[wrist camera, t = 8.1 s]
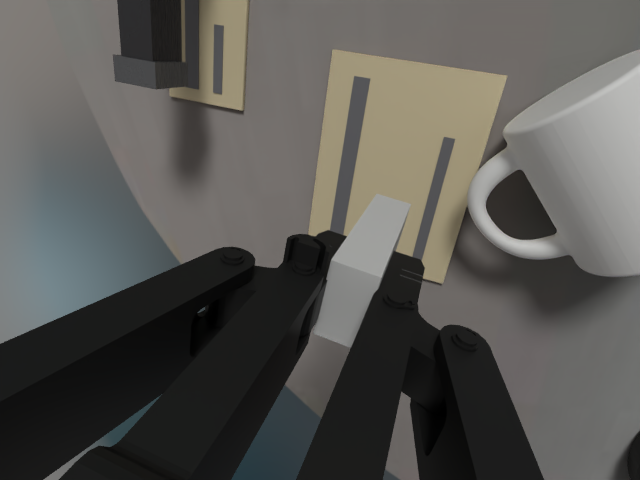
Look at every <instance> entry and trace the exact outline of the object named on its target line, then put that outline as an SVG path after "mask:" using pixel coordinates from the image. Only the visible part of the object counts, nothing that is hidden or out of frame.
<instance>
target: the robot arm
mask: <svg viewBox="0 0 640 480" xmlns="http://www.w3.org/2000/svg"><path fill="white" fill-rule="evenodd" d="M410 206H411V204H409V203H406V202H403V201H399V200H396V199H393V198H390V197H386V196H383V195H380V194H376V196H375V197H374V198H373V200H372V201H371V203H370V204H369V206H368V207H367V209H366V210H365V211H364V213H363V214H362V216H361V217H360V219H359V220H358V222H357V223H356V224H355V226H354V227H353V229H352V230H351V232H350V233H349V235H348V236H345V235H342V234H339V233H336V232H333V231H330V230H327V231H324V232H321V233H318V234H317V236H311V235H307V234H297V235H292V236H290V237H288V238H287V243H286V248H285V254H284V259H283V262H282V264H281V265H280V266H279V267H278V268H267V267H260V266H254V265H255V258H254V256H253V255H252V254H251V253H250V252H248V251H246V250H244V249H241V248H236V247H223V248H219V249H216V250H214V251H211V252H209V253H207V254H204V255H202V256H200V257H198V258H195V259H193V260H191V261H188V262H186V263H184V264H182V265H179V266H177V267H175V268H172V269H170V270H168V271H166V272H163V273H161V274H159V275H156V276H154V277H152V278H150V279H147V280H145V281H143V282H141V283H138V284H136V285H134V286H131V287H129V288H127V289H125V290H122V291H120V292H118V293H115V294H113V295H111V296H109V297H106V298H104V299H102V300H100V301H97V302H95V303H93V304H90V305H88V306H86V307H84V308H81V309H79V310H77V311H74V312H72V313H70V314H68V315H65V316H63V317H61V318H58V319H56V320H54V321H52V322H49V323H47V324H45V325H42V326H40V327H38V328H36V329H33V330H31V331H29V332H27V333H24V334H22V335H20V336H17V337H15V338H13V339H10V340H8V341H6V342H4V343H1V344H0V480H43V479H45V478H46V477H47V476H49V475H50V474H52V473H53V472H54V471H56V470H57V469H59V468H60V467H61V466H62V465H64V464H66V463H67V462H68V461H70V460H71V459H72V458H74V457H75V456H77V455H78V454H79V453H81V452H82V451H84V450H85V449H86V448H88V447H89V446H91V445H92V444H93V443H95V442H96V441H97V440H99V439H100V438H102V437H103V436H104V435H106V434H107V433H109V432H110V431H111V430H113V429H114V428H115V427H117V426H118V425H120V424H121V423H122V422H124V421H125V420H127V419H128V418H129V417H131V416H132V415H133V414H135V413H136V412H138V411H139V410H141V409H142V408H143V407H145V406H146V405H147V404H149V403H150V402H151V401H153V400H154V399H156V398H157V397H159V396H160V395H161V394H162V395H161V396H160V397H159V399H158V400H157V401H156V402H155V403H154V404H153V405H152V406H151V407H150V408H149V410H148V411H147V412H146V413H145V414H144V415H143V416H142V417H141V418H140V419H139V421H138V422H137V423H136V424H135V425H134V426H133V427H132V428H131V429H130V430H129V431H128V433H127V434H126V435H125V436H124V437H123V438H122V439H121V440H120V441H119V442H118V443H117V444H115V445H114V446H112V447H104V446H98V447H96V448H94V449H92V450H90V451H88V452H87V453H86V454H85V455H83V456H82V457H81V458H80V459H79V460H78V461H77V462H75V463H74V465H73V466H72V467H71V468H70V469H69V470H68V471H67V472H66V473H65V474H64V475H63V476H62V477H61V478H60V479H59V480H231V479H232V477H233V475H234V473H235V471H236V470H237V468H238V466H239V464H240V463H241V461H242V459H243V457H244V456H245V454H246V452H247V450H248V448H249V447H250V445H251V443H252V441H253V440H254V438H255V436H256V434H257V432H258V431H259V429H260V427H261V425H262V424H263V422H264V420H265V418H266V417H267V415H268V413H269V411H270V410H271V408H272V406H273V404H274V402H275V401H276V399H277V397H278V395H279V394H280V391H281V390H282V388H283V386H284V385H285V383H286V381H287V379H288V378H289V376H290V374H291V372H292V371H293V369H294V367H295V365H296V363H297V362H298V360H299V358H300V356H301V355H302V353H303V351H304V349H305V347H306V346H307V344H308V340H309V336H310V332H311V330H312V328H313V326H314V325H315V328H314V332H313V334H316V335H319V336H321V337H324V338H326V339H329V340H331V341H334V342H337V343H339V344H342V345H344V346H347V347H349V348H351V349H350V352H349V354H348V356H347V359H346V361H345V364H344V366H343V368H342V371H341V373H340V376H339V378H338V380H337V383H336V385H335V388H334V390H333V392H332V395H331V397H330V400H329V402H328V404H327V407H326V409H325V412H324V414H323V416H322V419H321V421H320V424H319V426H318V428H317V431H316V433H315V436H314V438H313V440H312V443H311V445H310V448H309V450H308V452H307V455H306V457H305V460H304V462H303V465H302V467H301V469H300V472H299V474H298V476H297V479H296V480H383V475H384V471H385V466H386V461H387V457H388V452H389V447H390V442H391V438H392V433H393V428H394V423H395V419H396V414H397V409H398V404H399V400H400V395H401V391H402V392H403V393H405V394H406V395H407V396H409V397H410V398H411V402H410V409H411V417H412V424H413V432H414V440H415V448H416V455H417V463H418V471H419V479H420V480H544V478H543V476H542V474H541V471H540V469H539V466H538V464H537V461H536V459H535V456H534V454H533V451H532V449H531V447H530V444H529V442H528V439H527V437H526V434H525V432H524V429H523V427H522V425H521V422H520V420H519V417H518V415H517V412H516V410H515V407H514V405H513V402H512V400H511V398H510V395H509V393H508V390H507V388H506V385H505V383H504V380H503V378H502V376H501V373H500V371H499V368H498V366H497V363H496V361H495V358H494V356H493V354H492V351H491V349H490V346H489V345H488V343H487V342H486V340H485V339H484V338H482V337H481V336H480V335H479V334H478V333H476V332H475V331H472V330H471V329H469V328H466V327H463V326H460V325H447V326H444V327H443V328H442V329H441V330H438V329H437V328H435V327H433V326H432V325H430V324H429V323H427V322H426V321H425V320H424V319H423V318H422V317H421V315H420V314H419V312H418V304H417V302H418V298H419V293H420V289H421V284H422V279H423V275H424V270H425V267H424V265H423V263H422V261H421V260H420V259H417V258H414V257H411V256H408V255H405V254H402V253H399V252H396V249H397V246H398V243H399V240H400V237H401V234H402V231H403V228H404V225H405V222H406V218H407V215H408V212H409V209H410ZM203 307H205V310H204V311H202V312H200V313H197V312H198V311H200V309H202V308H203ZM315 323H316V324H315ZM628 472H629V476H630V479H631V480H640V434H639V435H638V437H637V438H636V439H635V441H634V443H633V445H632V447H631V449H630V452H629V456H628Z"/></svg>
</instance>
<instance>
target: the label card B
mask: <svg viewBox="0 0 640 480" xmlns="http://www.w3.org/2000/svg"><path fill="white" fill-rule="evenodd" d="M506 79H507V76H505V75H498V74H492V73H485V72H479V71H472V70H465V69H459V68H452V67H446V66H439V65H432V64H426V63H419V62H413V61H406V60H399V59H393V58H386V57H380V56H373V55H366V54H360V53H353V52H347V51H340V50H333V51H332V59H331V66H330V74H329V81H328V89H327V96H326V104H325V112H324V119H323V127H322V134H321V142H320V149H319V157H318V165H317V172H316V180H315V187H314V195H313V202H312V210H311V217H310V225H309V233H308V235H311V236H317V234H318V233H321V232H324V231H327V230H330V231H333V232H336V233H339V234H342V235H345V236H348V235H349V233H350V232H351V230H352V229H353V227H354V226H355V224H356V223H357V222H358V220H359V219H360V217H361V216H362V214H363V213H364V211H365V210H366V209H367V207H368V206H369V204H370V203H371V201H372V200H373V198H374V197H375V196H376V194H380V195H383V196H386V197H390V198H393V199H396V200H399V201H403V202H406V203H409V204H411V206H410V209H409V212H408V215H407V218H406V222H405V225H404V228H403V231H402V234H401V237H400V240H399V243H398V246H397V249H396V252H399V253H402V254H405V255H408V256H411V257H414V258H417V259H420V260H421V261H422V263H423V265H424V267H425V270H424V275H423V279H427V280H431V281H434V282H438V283H441V284H443V281H444V278H445V275H446V272H447V268H448V265H449V262H450V259H451V255H452V252H453V249H454V246H455V243H456V239H457V236H458V233H459V230H460V227H461V223H462V220H463V217H464V214H465V211H466V207H467V194H468V189H469V185H470V183H471V181H472V179H473V177H474V176H475V174H476V173H477V172H478V169H479V166H480V162H481V159H482V156H483V153H484V150H485V146H486V143H487V140H488V137H489V134H490V130H491V127H492V124H493V121H494V118H495V114H496V111H497V108H498V105H499V101H500V98H501V95H502V92H503V89H504V85H505V82H506Z"/></svg>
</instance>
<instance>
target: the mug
mask: <svg viewBox="0 0 640 480" xmlns="http://www.w3.org/2000/svg"><path fill="white" fill-rule="evenodd" d="M503 137H504V139H505V140H506V142H507V147H506V148H505V149H504V150H502V151H501V152H499V153H498V154H496V155H495V156H494V157H492V158H491V159H490V160H489V161H487V162H486V163H485V164H484V165H483V166H482V167H481V168H480V169H479V170H478V172H477V173H476V174H475V176H474V177H473V179H472V181H471V183H470V185H469V189H468V194H467V204H468V209H469V212H470V215H471V218H472V220H473V222H474V223H475V225H476V227H477V228H478V229H479V231H480V232H481V233H482V234H483V235H484V236H485V237H486V238H487V239H488V240H489V241H490V242H491V243H492V244H494V245H495V246H496V247H498V248H500V249H501V250H503V251H505V252H507V253H509V254H511V255H514V256H517V257H521V258H525V259H534V260H544V259H552V258H558V257H562V256H566V255H570V256H572V257H573V259H574V261H575V263H576V264H577V265H578V266H579V267H580V268H581V269H583V270H584V271H586V272H588V273H591V274H594V275H599V276H606V277H629V276H638V275H640V50H636V51H634V52H631V53H628V54H626V55H623V56H621V57H618V58H616V59H614V60H612V61H609V62H607V63H605V64H603V65H601V66H599V67H597V68H595V69H593V70H591V71H589V72H587V73H585V74H583V75H581V76H580V77H578V78H576V79H574V80H572V81H570V82H569V83H567V84H565V85H563V86H562V87H560V88H558V89H556V90H555V91H553V92H551V93H550V94H548V95H547V96H545V97H543V98H542V99H540V100H539V101H537V102H536V103H534V104H533V105H531V106H530V107H528V108H527V109H525V110H524V111H523V112H521V113H520V114H519V115H517V116H516V117H515V118H514V119H512V120H511V121H510V122H509V123H508V124H507V125H506V127H505V128H504V130H503ZM516 170H522V171H523V172H524V174H525V175H526V177H527V179H528V181H529V182H530V184H531V186H532V188H533V189H534V191H535V193H536V194H537V196H538V198H539V200H540V201H541V203H542V205H543V207H544V208H545V210H546V212H547V214H548V215H549V217H550V219H551V221H552V222H553V224H554V226H555V228H556V229H557V232H556V233H555V234H554V235H551V236H547V237H543V238H539V239H533V240H519V239H515V238H512V237H510V236H508V235H506V234H505V233H503V232H502V231H501V230H500V229H499V228H498V227H497V226H496V225H495V224H494V222H493V221H492V220H491V218H490V217H489V215H488V213H487V210H486V200H487V198H488V196H489V194H490V193H491V191H492V190H493V189H494V188H495V187H496V185H498V184H499V183H500V182H501V181H502V180H503V179H505V178H506V177H507V176H509V175H510V174H512V173H513V172H515V171H516Z"/></svg>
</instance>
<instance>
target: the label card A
mask: <svg viewBox="0 0 640 480" xmlns="http://www.w3.org/2000/svg"><path fill="white" fill-rule="evenodd" d="M248 18H249V0H181V25H182V61H183V62H188V87H177V88H169V89H170V96H171V97H176V98H181V99H186V100H191V101H196V102H201V103H206V104H211V105H216V106H221V107H226V108H231V109H236V110H241V111H243V110H244V101H245V80H246V59H247V38H248Z"/></svg>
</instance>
